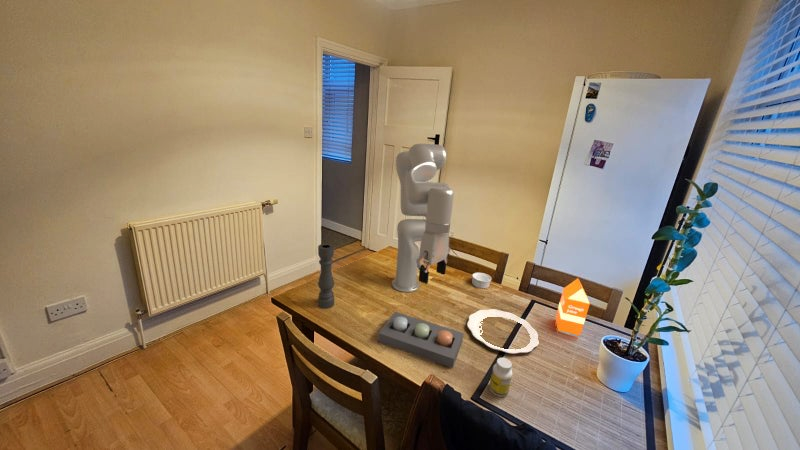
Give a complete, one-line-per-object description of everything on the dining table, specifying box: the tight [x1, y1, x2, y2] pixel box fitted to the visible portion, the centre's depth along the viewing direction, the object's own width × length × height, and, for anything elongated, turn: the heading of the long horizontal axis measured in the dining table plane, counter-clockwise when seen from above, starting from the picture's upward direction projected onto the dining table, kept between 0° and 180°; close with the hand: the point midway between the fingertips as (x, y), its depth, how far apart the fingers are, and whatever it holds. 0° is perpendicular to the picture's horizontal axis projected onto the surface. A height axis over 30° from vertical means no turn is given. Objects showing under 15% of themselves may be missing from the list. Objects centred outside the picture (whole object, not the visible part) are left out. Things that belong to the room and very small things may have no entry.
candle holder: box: [317, 243, 335, 310], centre depth 121 cm, size 6×6×25 cm
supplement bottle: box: [488, 357, 513, 398], centre depth 89 cm, size 5×5×10 cm
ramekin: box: [471, 272, 492, 289], centre depth 149 cm, size 9×9×4 cm
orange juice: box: [555, 278, 591, 336], centre depth 118 cm, size 8×9×20 cm
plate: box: [466, 308, 540, 355], centre depth 116 cm, size 25×25×2 cm
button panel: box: [377, 311, 465, 369], centre depth 107 cm, size 14×26×4 cm, turn 67°
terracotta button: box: [437, 330, 453, 347], centre depth 104 cm, size 5×5×3 cm
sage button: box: [415, 323, 429, 340], centre depth 107 cm, size 5×5×3 cm
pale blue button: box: [393, 317, 407, 332], centre depth 109 cm, size 5×5×3 cm
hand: (432, 277), depth 101 cm, fingers open, 9 cm apart
